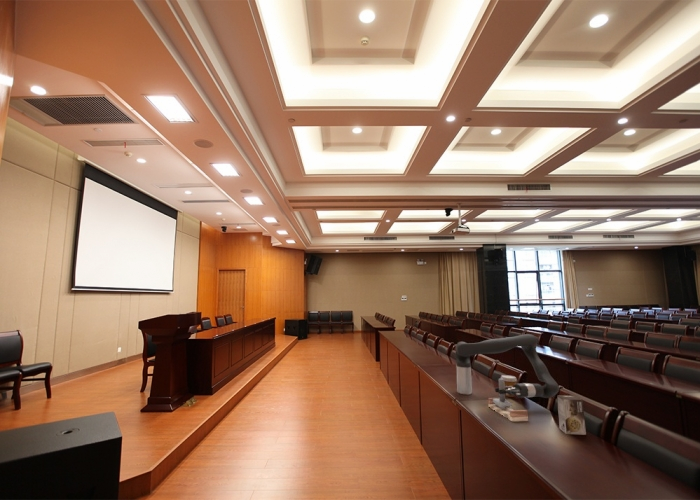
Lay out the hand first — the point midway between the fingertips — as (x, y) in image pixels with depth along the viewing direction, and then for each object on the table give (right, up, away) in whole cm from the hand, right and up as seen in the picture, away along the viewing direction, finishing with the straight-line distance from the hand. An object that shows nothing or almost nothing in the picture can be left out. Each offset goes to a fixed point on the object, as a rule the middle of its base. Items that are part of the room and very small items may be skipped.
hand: (497, 390), depth 185 cm
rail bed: (+3, -11, -5) cm, 12 cm away
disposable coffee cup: (+21, -16, +28) cm, 38 cm away
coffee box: (+24, -8, -28) cm, 38 cm away
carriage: (+3, -9, -1) cm, 9 cm away
